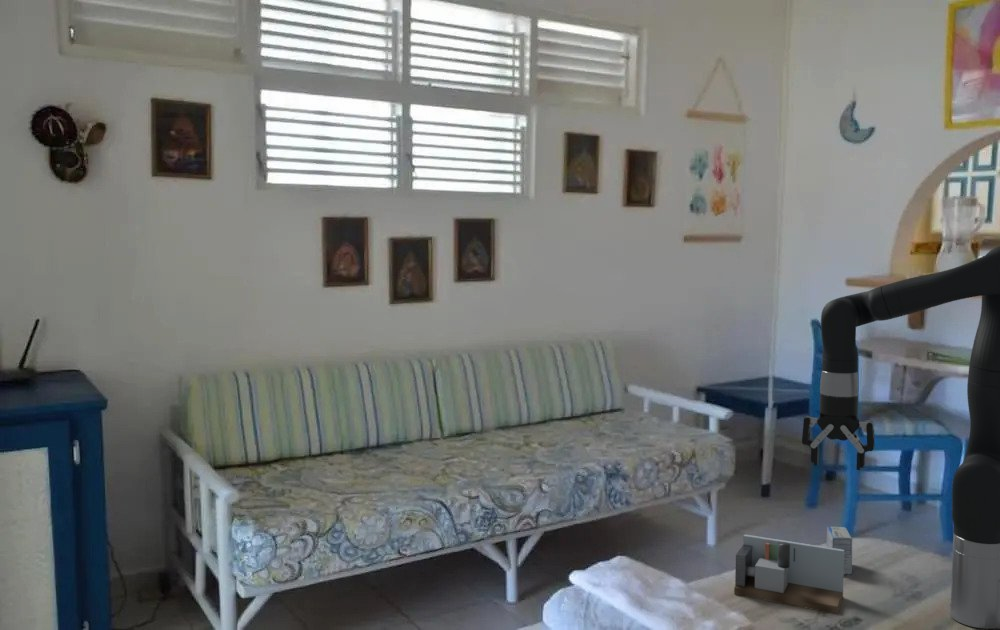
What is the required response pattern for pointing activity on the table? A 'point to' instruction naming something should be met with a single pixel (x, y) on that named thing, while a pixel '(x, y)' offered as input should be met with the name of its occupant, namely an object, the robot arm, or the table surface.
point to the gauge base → (795, 596)
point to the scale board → (804, 562)
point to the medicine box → (841, 544)
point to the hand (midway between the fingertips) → (837, 467)
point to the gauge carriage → (772, 569)
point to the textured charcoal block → (743, 565)
